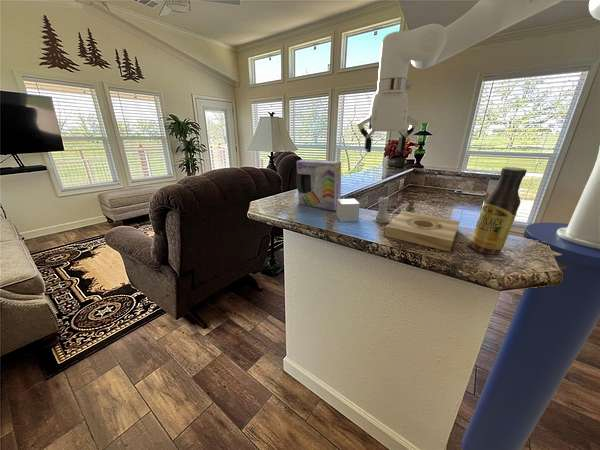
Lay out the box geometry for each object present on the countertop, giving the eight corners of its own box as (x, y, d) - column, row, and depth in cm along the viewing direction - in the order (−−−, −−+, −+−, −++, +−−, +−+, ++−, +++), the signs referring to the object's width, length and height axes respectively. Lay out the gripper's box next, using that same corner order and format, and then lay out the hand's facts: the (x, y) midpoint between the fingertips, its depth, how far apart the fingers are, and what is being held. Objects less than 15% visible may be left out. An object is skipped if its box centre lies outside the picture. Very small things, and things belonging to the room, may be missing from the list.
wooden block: (400, 219, 78) (402, 210, 77) (457, 230, 69) (459, 220, 68) (384, 236, 66) (385, 226, 65) (449, 251, 57) (452, 240, 56)
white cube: (340, 221, 77) (341, 204, 75) (336, 215, 83) (337, 199, 81) (358, 220, 78) (359, 203, 76) (353, 214, 83) (354, 198, 81)
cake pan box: (295, 203, 98) (294, 159, 91) (303, 200, 101) (303, 158, 95) (333, 212, 86) (335, 163, 79) (341, 209, 89) (343, 161, 83)
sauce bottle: (463, 246, 60) (485, 166, 52) (481, 242, 61) (504, 165, 54) (490, 258, 54) (519, 171, 46) (509, 253, 56) (539, 169, 48)
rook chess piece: (371, 220, 77) (373, 197, 74) (379, 217, 80) (382, 195, 77) (383, 224, 74) (386, 200, 71) (391, 221, 76) (394, 197, 73)
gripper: (417, 89, 69) (408, 150, 75) (357, 91, 70) (353, 150, 76) (428, 85, 62) (417, 152, 68) (362, 86, 63) (357, 153, 69)
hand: (384, 151), depth 72 cm, fingers open, 9 cm apart
